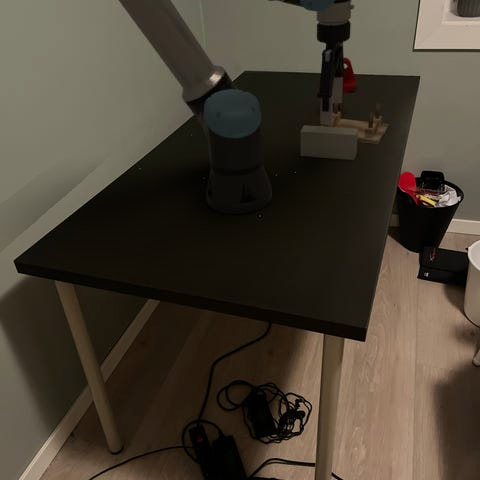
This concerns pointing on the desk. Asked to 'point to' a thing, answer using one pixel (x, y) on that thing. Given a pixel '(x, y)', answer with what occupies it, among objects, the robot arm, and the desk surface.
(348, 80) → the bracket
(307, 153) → the grey rectangular block
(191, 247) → the desk surface
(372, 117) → the rack
